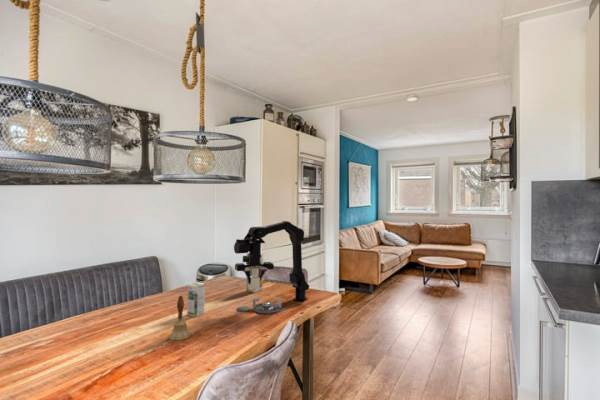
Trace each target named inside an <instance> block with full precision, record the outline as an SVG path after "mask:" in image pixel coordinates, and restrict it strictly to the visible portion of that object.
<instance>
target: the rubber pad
mask: <svg viewBox="0 0 600 400" xmlns="http://www.w3.org/2000/svg"><path fill="white" fill-rule="evenodd" d="M251 310H252V309H251V307H250V306H245V305H244V306H239V307H237V308H236V312H240V313H246V312H250V311H251Z"/></svg>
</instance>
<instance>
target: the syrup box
mask: <svg viewBox="0 0 600 400" xmlns="http://www.w3.org/2000/svg"><path fill="white" fill-rule="evenodd" d="M205 291H206V283H202V282H196V281H195V282H191V283H189V284H187V310H186V312H187V313H186V314H187V316H191V317H194V318H197V317H199V316H202V315H203V314H205V300H206V299H205V295H206V293H205Z"/></svg>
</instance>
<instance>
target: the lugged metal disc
mask: <svg viewBox="0 0 600 400" xmlns="http://www.w3.org/2000/svg"><path fill="white" fill-rule="evenodd" d="M260 300H261V298H260V297H252V311H253V312H254V313H257V314H259V315H260V314H261V315H273V314H277V313H279V312H280V311H281V310H282V298H281V297H274V302H278V303H274V302H269V301H266V302H261V303H257V302H260ZM256 303H257V304H256Z"/></svg>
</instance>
